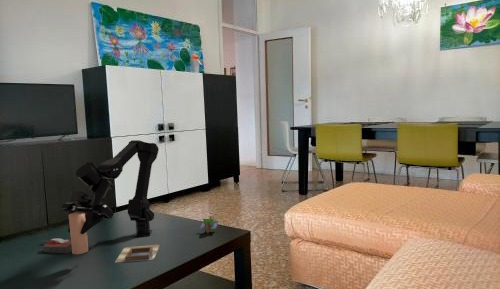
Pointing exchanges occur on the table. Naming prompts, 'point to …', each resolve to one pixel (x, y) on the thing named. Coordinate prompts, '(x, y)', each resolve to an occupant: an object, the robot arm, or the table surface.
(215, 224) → the geometric puzzle
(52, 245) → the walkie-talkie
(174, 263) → the table surface
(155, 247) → the tan flat square frame
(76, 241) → the terracotta column
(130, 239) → the table surface
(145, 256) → the walnut socket
